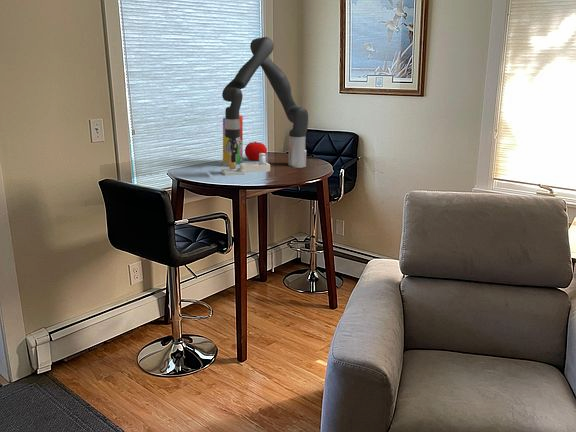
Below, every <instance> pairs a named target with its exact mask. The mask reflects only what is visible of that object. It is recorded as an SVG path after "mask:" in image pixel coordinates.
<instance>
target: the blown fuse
mask: <svg viewBox="0 0 576 432" xmlns="http://www.w3.org/2000/svg"><path fill="white" fill-rule="evenodd" d="M236 165H237V164H236V162H231V153H229V167H228V168H229V171H231V172H237V171H236V168H237V166H236Z"/></svg>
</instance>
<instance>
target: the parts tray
mask: <svg viewBox="0 0 576 432" xmlns="http://www.w3.org/2000/svg"><path fill="white" fill-rule="evenodd" d="M220 173H222V175H224V176H244V175H245V172H244V171H243V170H242V169H240V167H236V171H229V167H228V168H220Z"/></svg>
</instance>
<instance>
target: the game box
mask: <svg viewBox="0 0 576 432" xmlns="http://www.w3.org/2000/svg"><path fill="white" fill-rule="evenodd" d="M243 117H244V116H243V115H242V114H241V115H240V114H239V121H240V137H239V138H236V141H237V144H238V149H237V154H236V165H240V163H241V162H242V163H244V162H243V158H244V157H243V151H244V149H243V141H244V139H243V135H244V134H243V128H244V127H243V126H244V125H243V124H244V123H243V122H244V121H243V120H244V119H243ZM228 140H229V138H226V137H225V117H222V167H228V168H229V152H228V143H227V141H228ZM234 152H235V151H234Z"/></svg>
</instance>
